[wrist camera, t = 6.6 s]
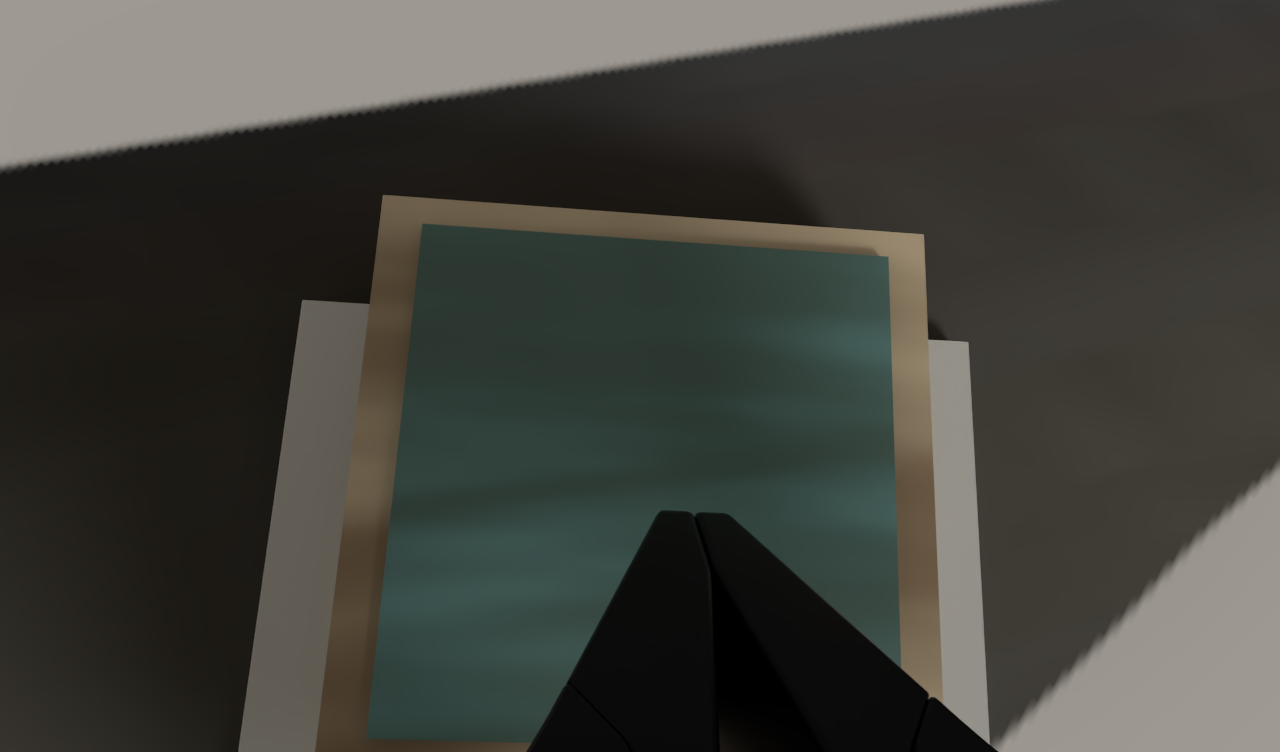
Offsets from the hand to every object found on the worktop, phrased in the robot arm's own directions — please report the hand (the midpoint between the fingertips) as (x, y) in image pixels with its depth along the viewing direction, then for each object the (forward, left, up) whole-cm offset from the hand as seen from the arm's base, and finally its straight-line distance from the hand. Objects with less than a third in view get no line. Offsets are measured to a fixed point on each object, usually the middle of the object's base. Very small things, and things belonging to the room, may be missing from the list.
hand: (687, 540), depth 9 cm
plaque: (-4, 0, -5) cm, 7 cm away
